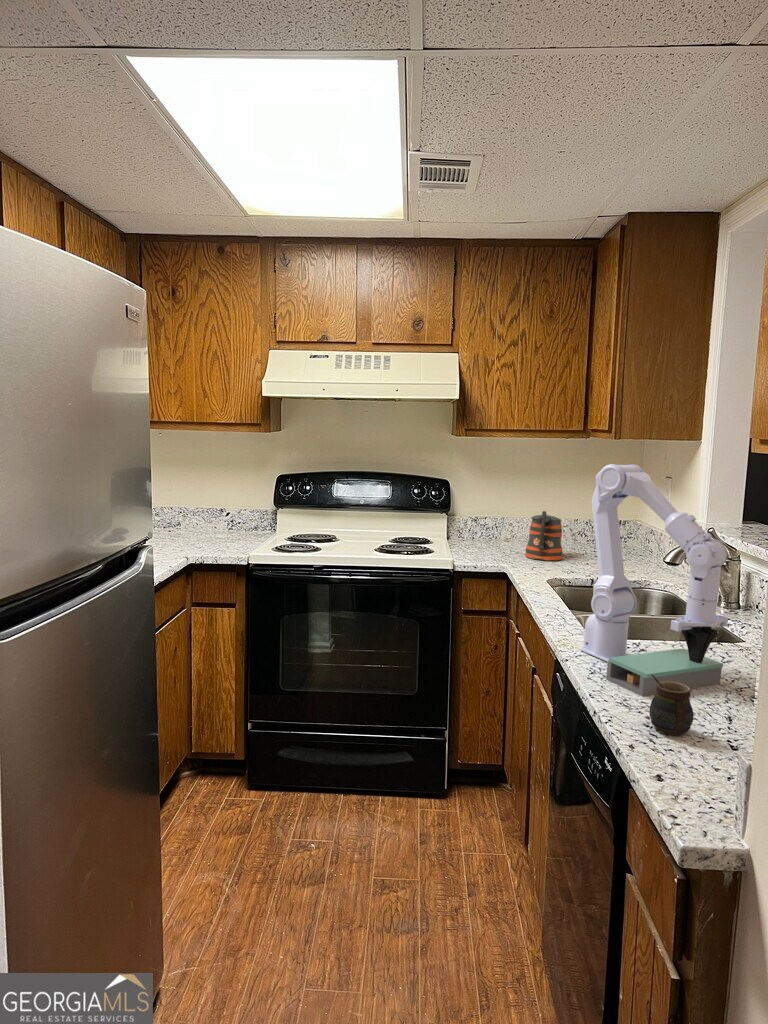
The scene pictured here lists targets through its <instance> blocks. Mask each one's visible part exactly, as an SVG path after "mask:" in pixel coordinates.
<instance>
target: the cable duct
mask: <svg viewBox="0 0 768 1024" xmlns="http://www.w3.org/2000/svg"><path fill="white" fill-rule="evenodd" d="M722 668H723V667H722ZM722 668H715V669H708V670H701V671H694V672H687V673H680V674H673V675H666V676H659V677H656V679H658V681H659V682H665V681H670V682H677V683H681V684H684V685H686V686H688V687H689V688H690V689H696V688H697V689H699V688H704V687H709V686H715V685H720V684H721V678H722ZM605 677H606V678H605V680H607V681H608V682H610V683H613V684H615V685H617V686H619V687H622V688H624V689H626V690H628V691H631V692H632V693H633V694H637V695H638V696H641V697H646V696H647V697H648V696H652V695H654V696H655V695H656V693H657V692H656V688H657V684H658V683H657V682H656V681H655V679H654V678H653V677H652V678H645V677H642V676H640V675H638V674H636V673H633V672H631V671H629V670H627V669H625V668H622V667H620V666H618V665H616V664H613V663H611V662H607V667H606V676H605Z"/></svg>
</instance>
